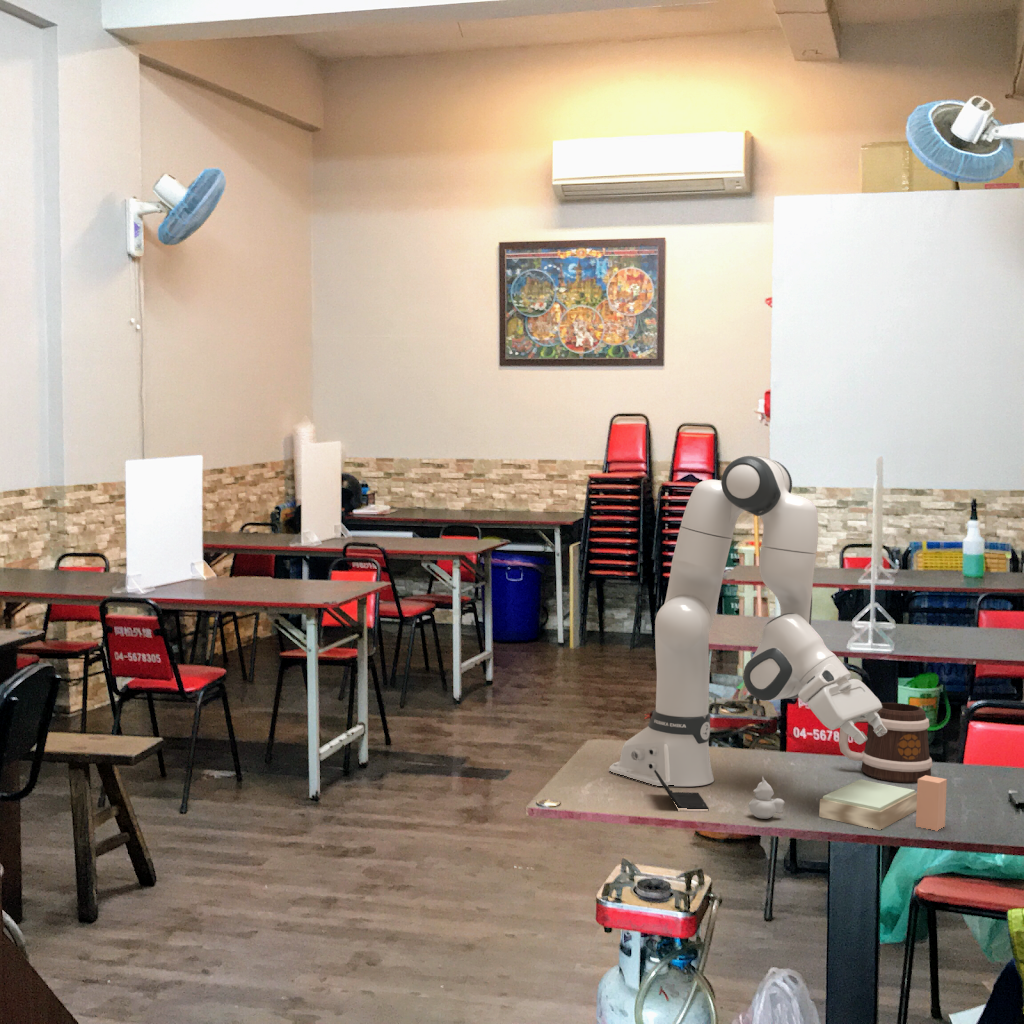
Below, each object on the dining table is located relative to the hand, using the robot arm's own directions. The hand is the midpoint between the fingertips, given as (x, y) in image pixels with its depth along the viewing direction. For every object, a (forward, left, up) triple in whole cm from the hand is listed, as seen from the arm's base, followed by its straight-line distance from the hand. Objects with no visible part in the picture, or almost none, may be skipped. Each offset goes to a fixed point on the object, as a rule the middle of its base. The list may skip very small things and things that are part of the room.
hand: (873, 738), depth 230 cm
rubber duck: (-13, -17, -15) cm, 26 cm away
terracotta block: (+12, 0, -15) cm, 19 cm away
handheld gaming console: (-30, -20, -15) cm, 39 cm away
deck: (0, 0, -15) cm, 15 cm away
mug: (-10, +32, -15) cm, 37 cm away
